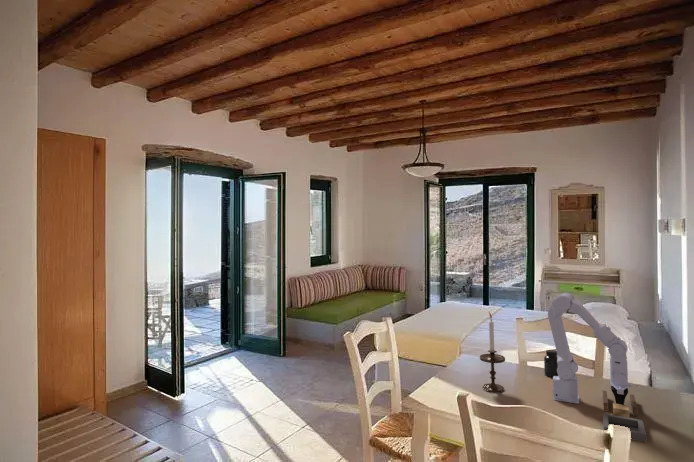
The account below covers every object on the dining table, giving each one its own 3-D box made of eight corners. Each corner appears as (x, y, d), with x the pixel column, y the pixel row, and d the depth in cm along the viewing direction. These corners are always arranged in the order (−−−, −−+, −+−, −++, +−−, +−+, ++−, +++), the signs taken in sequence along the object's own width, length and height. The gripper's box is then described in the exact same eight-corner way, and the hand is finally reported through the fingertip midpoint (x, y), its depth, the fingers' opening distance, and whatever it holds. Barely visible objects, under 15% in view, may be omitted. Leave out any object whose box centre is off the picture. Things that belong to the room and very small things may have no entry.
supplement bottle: (561, 378, 199) (561, 353, 199) (546, 377, 200) (545, 352, 200) (557, 373, 206) (557, 349, 206) (542, 372, 207) (542, 348, 207)
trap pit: (604, 434, 145) (604, 426, 145) (603, 420, 155) (602, 413, 155) (646, 442, 139) (646, 434, 139) (642, 426, 149) (642, 420, 149)
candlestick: (479, 392, 185) (477, 313, 185) (481, 383, 195) (479, 309, 195) (505, 394, 181) (503, 314, 181) (506, 386, 191) (504, 310, 191)
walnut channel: (603, 410, 163) (603, 402, 163) (602, 397, 175) (602, 390, 175) (637, 415, 158) (637, 407, 158) (634, 402, 170) (634, 394, 170)
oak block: (613, 418, 156) (613, 407, 156) (613, 413, 161) (612, 403, 161) (629, 421, 154) (629, 410, 154) (628, 416, 158) (628, 405, 158)
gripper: (632, 379, 155) (634, 415, 155) (629, 367, 167) (630, 401, 167) (610, 376, 158) (611, 412, 158) (608, 365, 171) (609, 398, 171)
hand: (619, 406), depth 163 cm, fingers closed
